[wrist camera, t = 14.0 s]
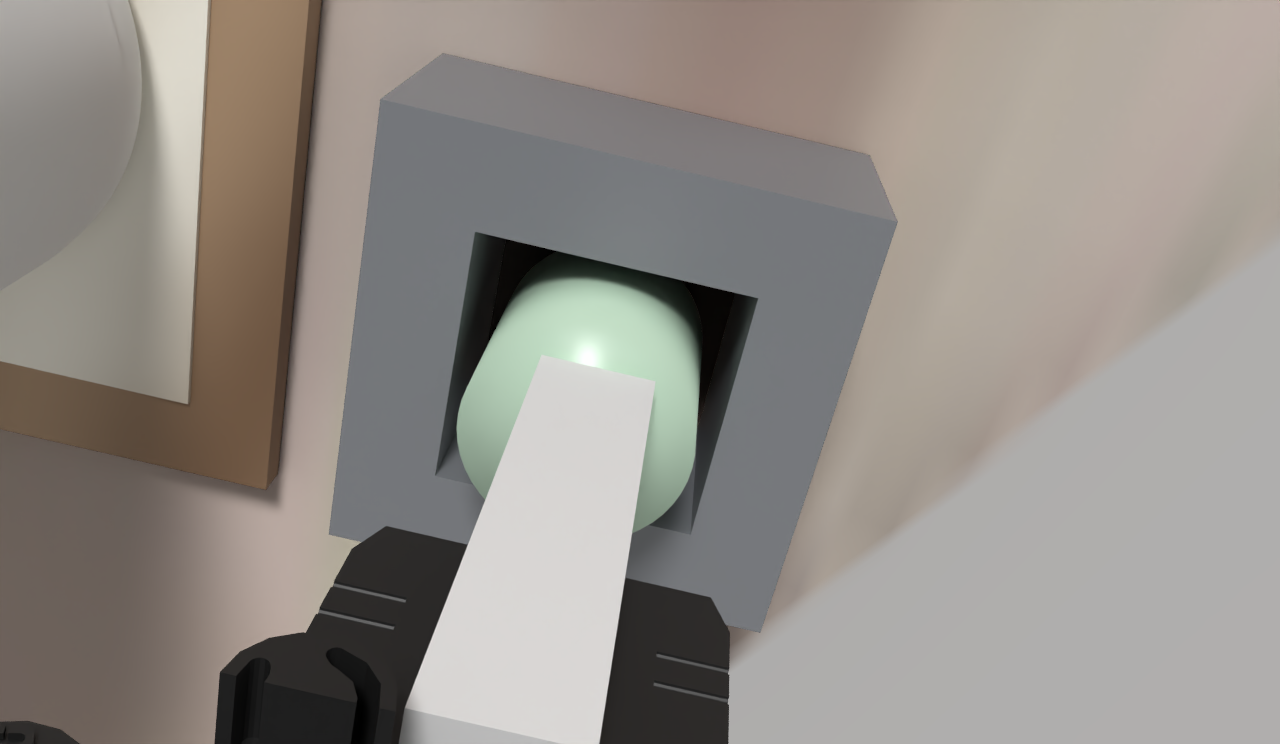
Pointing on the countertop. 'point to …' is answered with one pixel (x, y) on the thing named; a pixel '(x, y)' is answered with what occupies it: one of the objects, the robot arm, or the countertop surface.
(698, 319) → the button
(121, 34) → the pill bottle
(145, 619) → the countertop surface
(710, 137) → the button housing
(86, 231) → the clipboard
